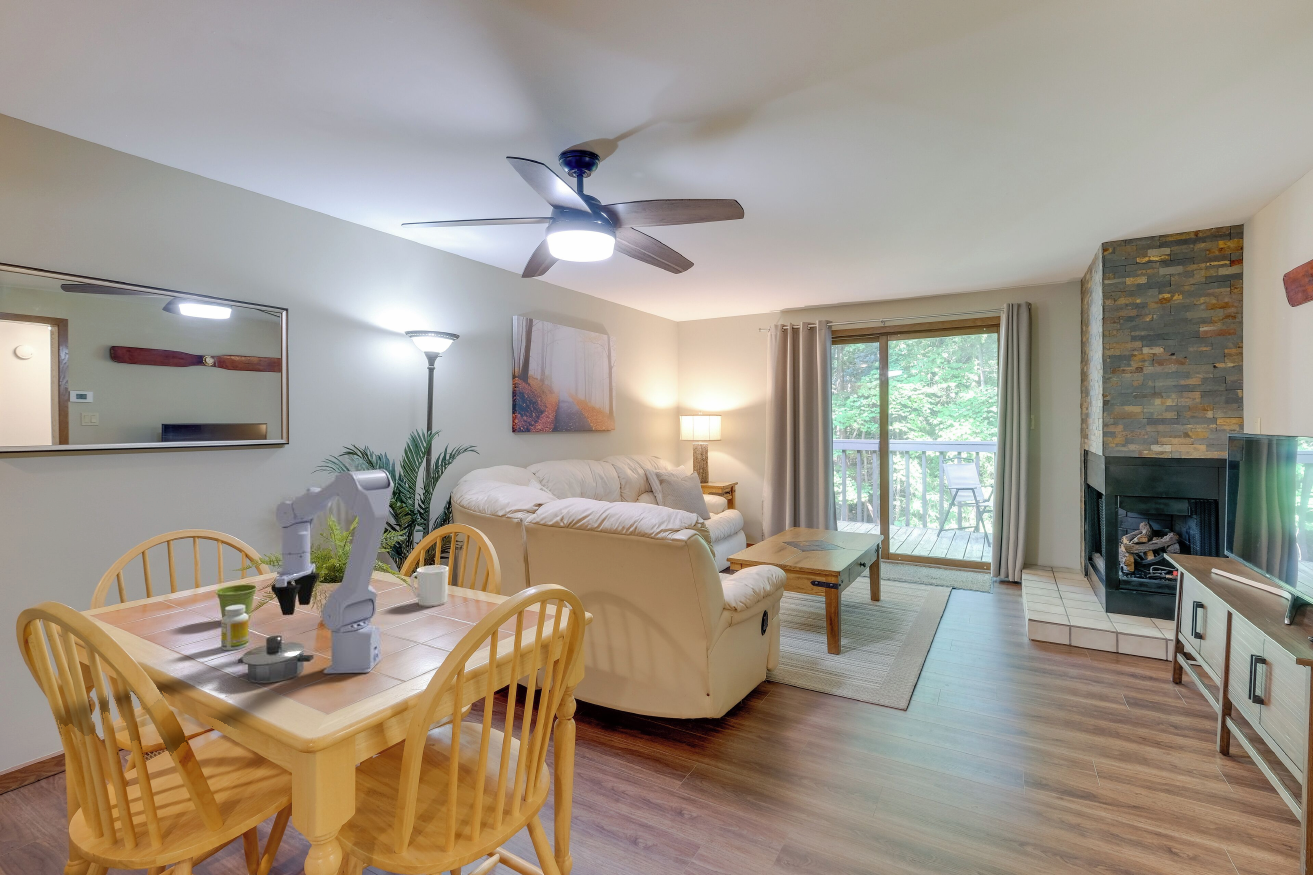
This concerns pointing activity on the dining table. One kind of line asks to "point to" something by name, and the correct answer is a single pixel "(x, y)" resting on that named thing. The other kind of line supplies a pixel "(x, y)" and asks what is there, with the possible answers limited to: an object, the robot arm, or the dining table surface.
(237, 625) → the supplement bottle
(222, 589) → the plant pot
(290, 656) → the lid
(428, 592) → the mug
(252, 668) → the pot
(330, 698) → the dining table surface
